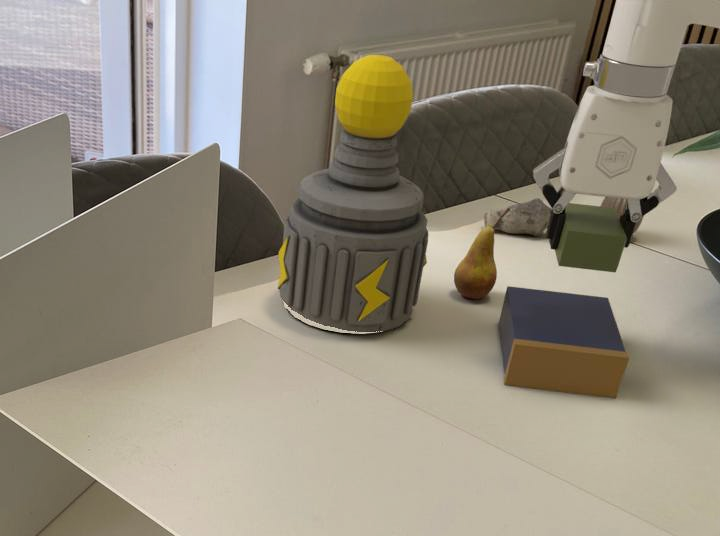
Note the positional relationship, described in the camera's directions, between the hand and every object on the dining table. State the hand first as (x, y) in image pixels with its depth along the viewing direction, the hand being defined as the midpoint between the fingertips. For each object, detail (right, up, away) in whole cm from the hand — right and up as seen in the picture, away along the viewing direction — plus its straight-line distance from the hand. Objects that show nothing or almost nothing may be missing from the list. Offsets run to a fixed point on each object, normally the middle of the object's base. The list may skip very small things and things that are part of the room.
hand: (584, 247), depth 117 cm
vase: (+20, +19, +45) cm, 53 cm away
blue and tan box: (-1, -10, +9) cm, 14 cm away
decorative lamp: (-26, -1, +17) cm, 31 cm away
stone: (+4, +19, +43) cm, 47 cm away
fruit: (-8, +2, +23) cm, 24 cm away
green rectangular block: (0, 0, 0) cm, 1 cm away
